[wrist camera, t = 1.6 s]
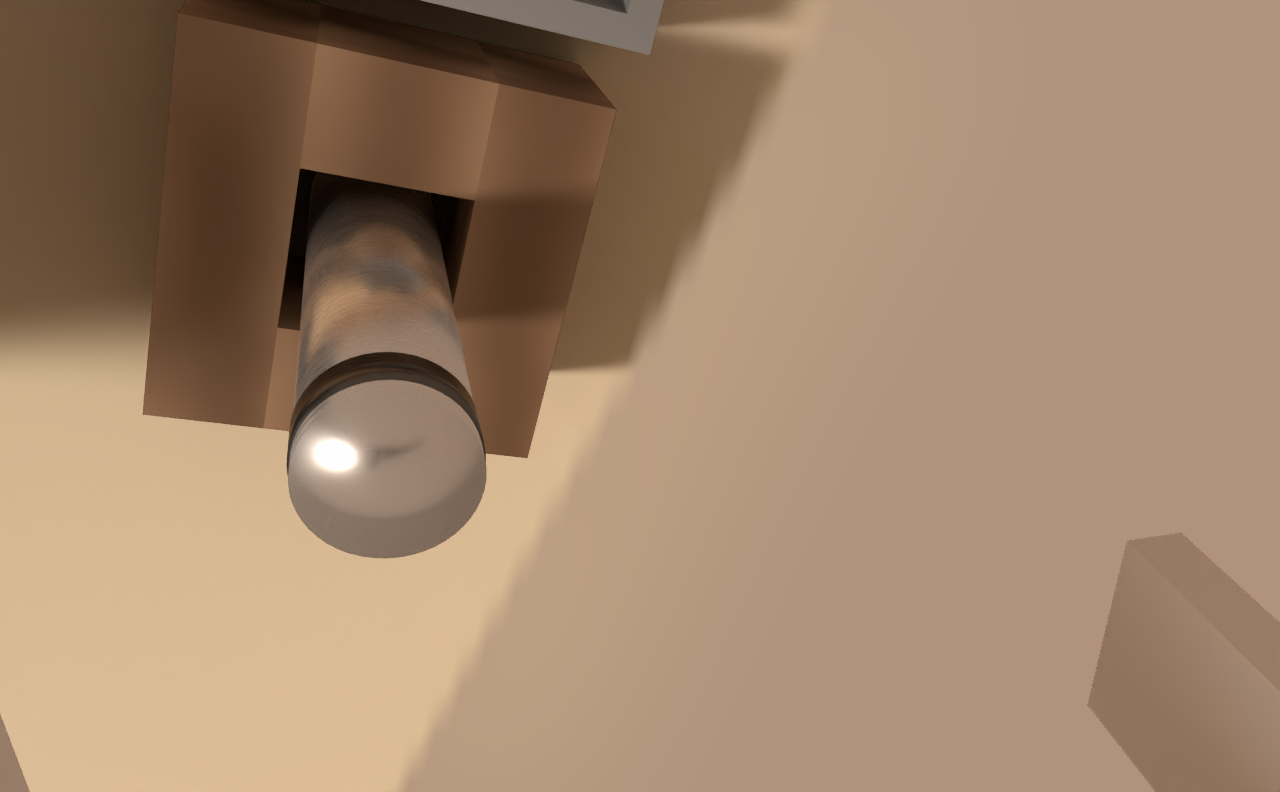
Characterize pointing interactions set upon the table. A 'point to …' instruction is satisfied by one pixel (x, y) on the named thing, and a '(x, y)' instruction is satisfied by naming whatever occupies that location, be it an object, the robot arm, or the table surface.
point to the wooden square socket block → (373, 151)
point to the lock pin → (380, 378)
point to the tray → (577, 18)
